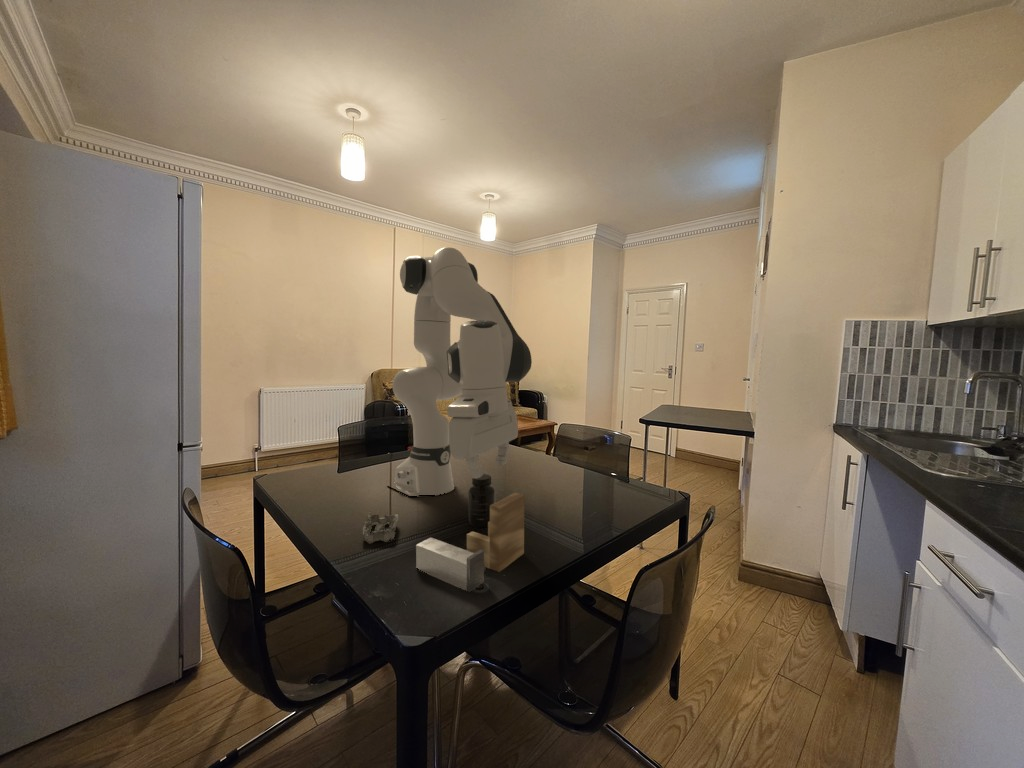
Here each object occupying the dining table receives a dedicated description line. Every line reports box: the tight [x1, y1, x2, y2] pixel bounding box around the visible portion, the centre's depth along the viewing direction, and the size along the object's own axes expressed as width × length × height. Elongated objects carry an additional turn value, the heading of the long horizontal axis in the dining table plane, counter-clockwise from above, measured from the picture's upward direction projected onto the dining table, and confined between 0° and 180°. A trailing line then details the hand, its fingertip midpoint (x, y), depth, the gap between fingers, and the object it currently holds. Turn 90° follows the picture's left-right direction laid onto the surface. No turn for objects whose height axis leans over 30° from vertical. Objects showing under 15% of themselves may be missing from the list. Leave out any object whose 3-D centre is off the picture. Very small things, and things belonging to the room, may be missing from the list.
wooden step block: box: [466, 492, 525, 573], centre depth 84 cm, size 8×9×13 cm
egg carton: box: [362, 511, 399, 541], centre depth 95 cm, size 11×8×4 cm
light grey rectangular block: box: [415, 537, 485, 593], centre depth 77 cm, size 14×4×6 cm, turn 56°
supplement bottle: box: [468, 473, 496, 528], centre depth 102 cm, size 7×7×12 cm
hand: (490, 470), depth 80 cm, fingers open, 8 cm apart
